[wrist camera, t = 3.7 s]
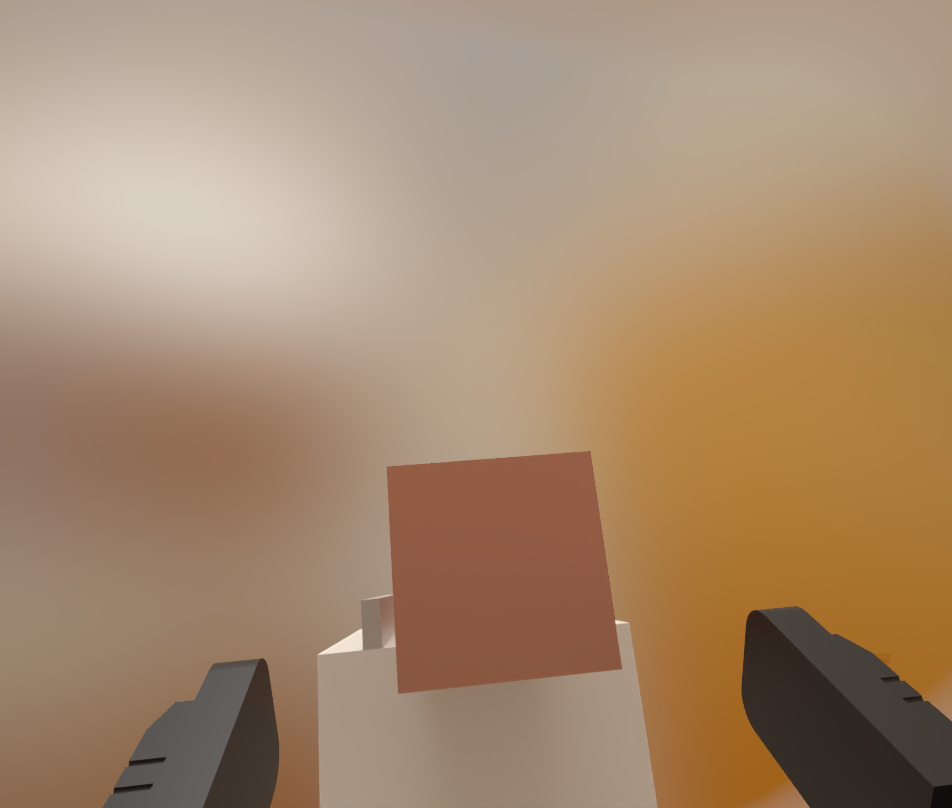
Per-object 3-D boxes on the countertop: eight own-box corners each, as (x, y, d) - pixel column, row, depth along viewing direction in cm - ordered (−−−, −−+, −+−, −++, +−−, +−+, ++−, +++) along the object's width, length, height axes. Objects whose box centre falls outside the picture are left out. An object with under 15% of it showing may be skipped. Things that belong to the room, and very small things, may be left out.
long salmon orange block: (398, 694, 10) (386, 466, 12) (421, 622, 31) (416, 541, 32) (622, 669, 11) (590, 450, 12) (499, 614, 31) (492, 535, 32)
